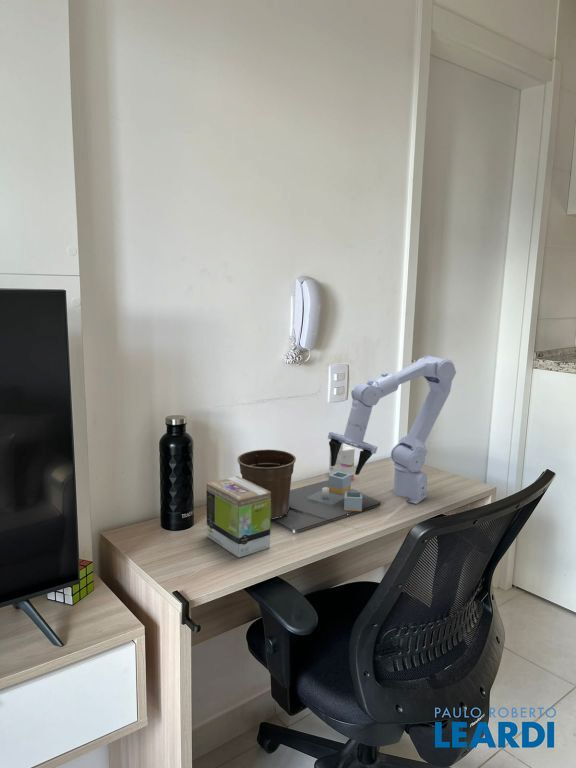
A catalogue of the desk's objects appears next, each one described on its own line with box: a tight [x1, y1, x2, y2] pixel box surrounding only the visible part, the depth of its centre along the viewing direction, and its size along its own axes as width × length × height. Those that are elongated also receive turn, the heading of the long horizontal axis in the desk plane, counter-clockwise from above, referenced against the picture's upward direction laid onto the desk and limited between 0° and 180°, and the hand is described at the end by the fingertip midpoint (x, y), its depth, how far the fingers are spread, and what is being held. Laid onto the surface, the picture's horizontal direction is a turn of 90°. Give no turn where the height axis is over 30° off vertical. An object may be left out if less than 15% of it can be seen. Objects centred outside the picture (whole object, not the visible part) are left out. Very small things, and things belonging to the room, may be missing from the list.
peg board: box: [306, 486, 359, 506], centre depth 175 cm, size 9×15×4 cm, turn 144°
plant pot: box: [237, 449, 297, 521], centre depth 163 cm, size 16×16×16 cm
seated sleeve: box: [327, 471, 352, 494], centre depth 178 cm, size 5×5×5 cm
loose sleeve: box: [343, 491, 363, 512], centre depth 165 cm, size 5×5×5 cm
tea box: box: [206, 475, 271, 558], centre depth 144 cm, size 15×10×15 cm, turn 38°
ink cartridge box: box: [328, 443, 356, 481], centre depth 190 cm, size 9×5×15 cm, turn 25°
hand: (344, 469), depth 167 cm, fingers open, 7 cm apart
